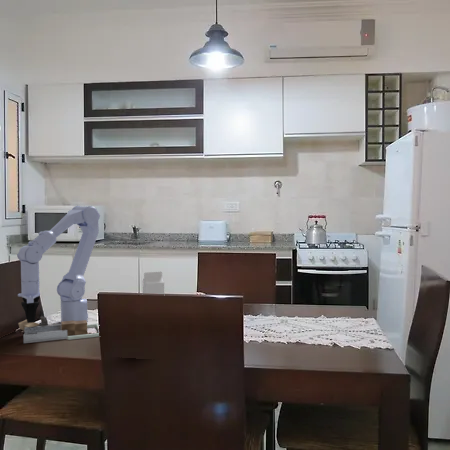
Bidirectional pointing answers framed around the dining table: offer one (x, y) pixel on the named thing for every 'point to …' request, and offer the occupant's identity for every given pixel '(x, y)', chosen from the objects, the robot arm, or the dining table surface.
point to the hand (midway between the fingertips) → (31, 319)
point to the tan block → (26, 324)
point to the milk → (153, 283)
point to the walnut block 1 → (68, 327)
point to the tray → (85, 334)
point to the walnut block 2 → (80, 327)
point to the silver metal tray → (44, 333)
